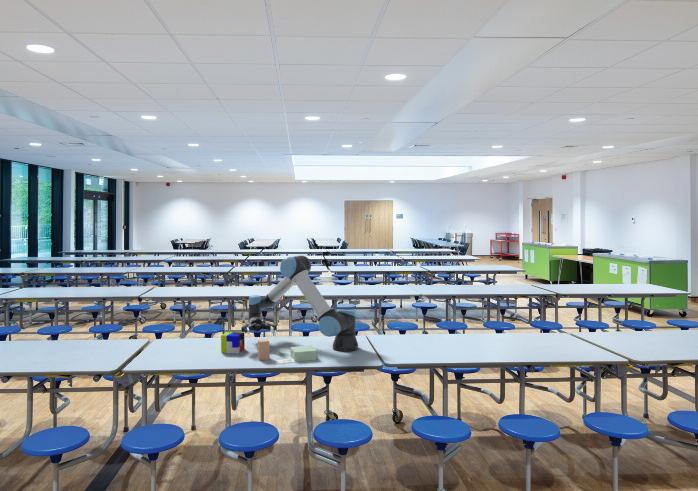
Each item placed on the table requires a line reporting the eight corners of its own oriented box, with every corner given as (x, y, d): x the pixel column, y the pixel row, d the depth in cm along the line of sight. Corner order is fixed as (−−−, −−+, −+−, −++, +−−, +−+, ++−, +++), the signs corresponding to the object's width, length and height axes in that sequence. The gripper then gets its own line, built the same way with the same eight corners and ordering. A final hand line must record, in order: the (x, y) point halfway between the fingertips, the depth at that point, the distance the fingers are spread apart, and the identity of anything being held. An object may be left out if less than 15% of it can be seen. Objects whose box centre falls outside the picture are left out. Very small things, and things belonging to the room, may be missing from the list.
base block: (311, 354, 291) (311, 345, 291) (316, 359, 280) (316, 350, 279) (290, 355, 288) (290, 347, 287) (294, 361, 276) (294, 352, 276)
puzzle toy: (237, 353, 293) (237, 336, 293) (221, 352, 295) (221, 335, 295) (244, 349, 303) (244, 332, 303) (228, 348, 305) (228, 331, 305)
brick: (268, 356, 286) (268, 339, 285) (269, 359, 281) (269, 341, 280) (258, 357, 284) (258, 339, 284) (259, 360, 279) (259, 341, 278)
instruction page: (293, 358, 282) (293, 357, 282) (297, 361, 276) (297, 361, 276) (275, 360, 278) (275, 360, 278) (279, 363, 272) (279, 363, 272)
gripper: (277, 329, 315) (282, 336, 295) (235, 331, 308) (238, 339, 288) (277, 316, 315) (282, 324, 295) (235, 318, 308) (238, 326, 287)
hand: (260, 331), depth 291 cm, fingers open, 13 cm apart
